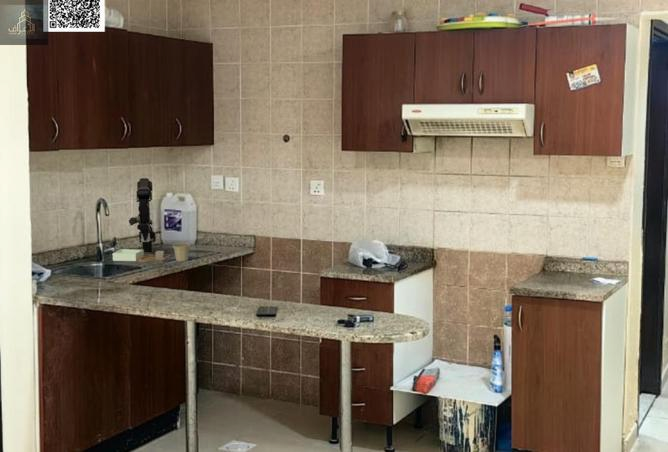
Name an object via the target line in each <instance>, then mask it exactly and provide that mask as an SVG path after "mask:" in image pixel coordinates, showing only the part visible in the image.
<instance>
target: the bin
mask: <svg viewBox="0 0 668 452" xmlns="http://www.w3.org/2000/svg"><path fill="white" fill-rule="evenodd" d="M143 256H145V252H144V250H142V249H129V248H127V249H125V248H124V249H123V248H121V249H119V250H116V251H114V252H113V253H112V261H114V262H120V261H121V262H138V261H137V259H139V258H141V257H143Z"/></svg>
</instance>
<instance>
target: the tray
mask: <svg viewBox="0 0 668 452" xmlns="http://www.w3.org/2000/svg"><path fill="white" fill-rule="evenodd" d="M172 255H173V254H166V253H164V258H163V259H156V254H155V253H153V254H151V253H150V254H149V253H146V254H144V256H143V257H141V258H139V259H137V261H136V262H147V263H149V262H151V263H152V262H157V263H161V262H164V261H166V260H168V259H169V258H172V257H173V256H172Z"/></svg>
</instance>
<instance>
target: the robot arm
mask: <svg viewBox="0 0 668 452" xmlns="http://www.w3.org/2000/svg"><path fill="white" fill-rule="evenodd" d="M136 187H137V188H136V189H137V190H136V193H135V194H136V203H138V208H137V209H138V214H137V216H135V217H134V216H132V217H130V218H129V220H128V224H129V226H133V225H136V224H137V226H136V229H137V230H139V232H138V238H139V243H141V250H144V253H154V252H156V251H155V250H154V249H153V243H154V242H156V240H157V239H156V232H155V231H154V230H153V229H154V228H153V227H152V226H153V223H154V222H153V220H152V219H151V210H150V209H151V208H150V202H152V200H153V182H152V181H151V180H149V178H146V177H145V178H144V177H143V178H139V181H137V183H136ZM148 233H150V241H149V242H142V239H141V234H142V235H143V238H144V241H146V240H147V236H148Z"/></svg>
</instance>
